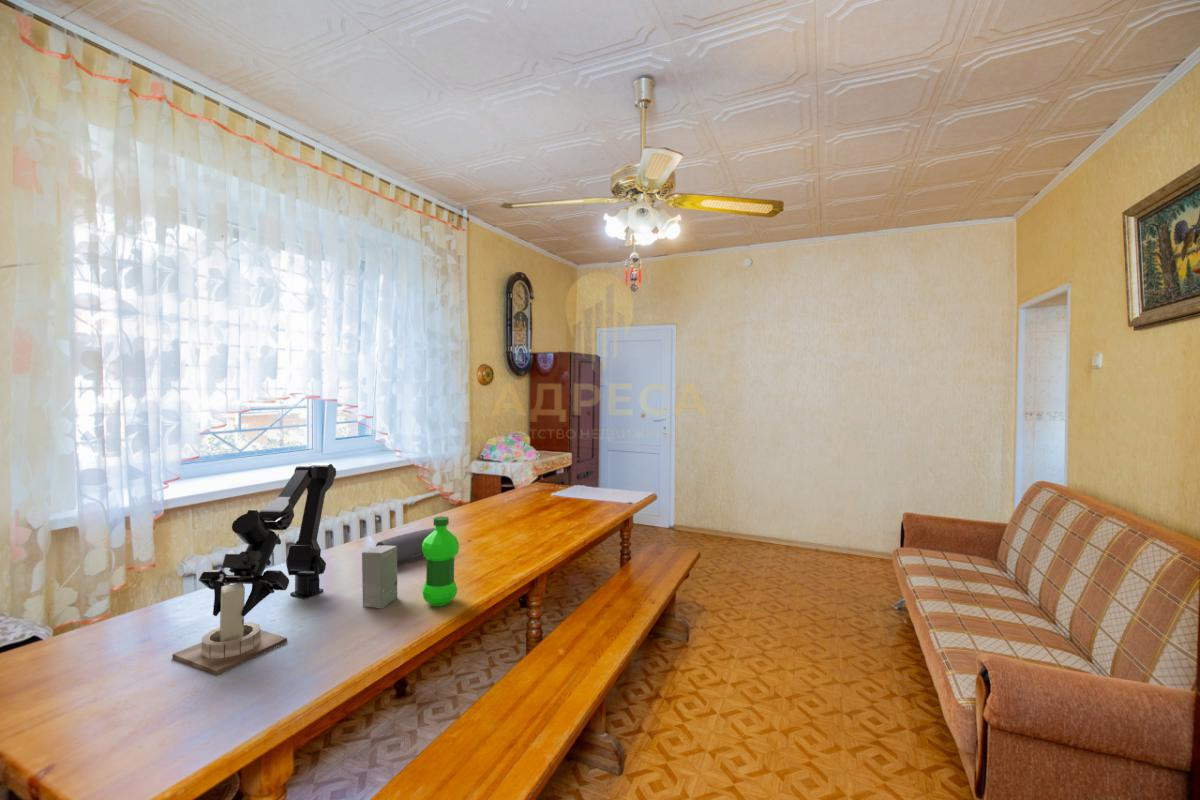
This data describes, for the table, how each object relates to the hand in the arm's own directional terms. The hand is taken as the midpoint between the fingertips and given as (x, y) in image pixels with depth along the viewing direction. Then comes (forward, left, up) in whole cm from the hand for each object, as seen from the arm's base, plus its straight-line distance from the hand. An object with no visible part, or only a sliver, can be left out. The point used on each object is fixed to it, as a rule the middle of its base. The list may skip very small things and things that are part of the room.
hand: (228, 615), depth 119 cm
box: (-1, +1, -7) cm, 7 cm away
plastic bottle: (+26, +43, -9) cm, 51 cm away
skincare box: (+10, +36, -9) cm, 38 cm away
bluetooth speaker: (-8, +67, -9) cm, 68 cm away
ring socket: (0, +1, -9) cm, 9 cm away
